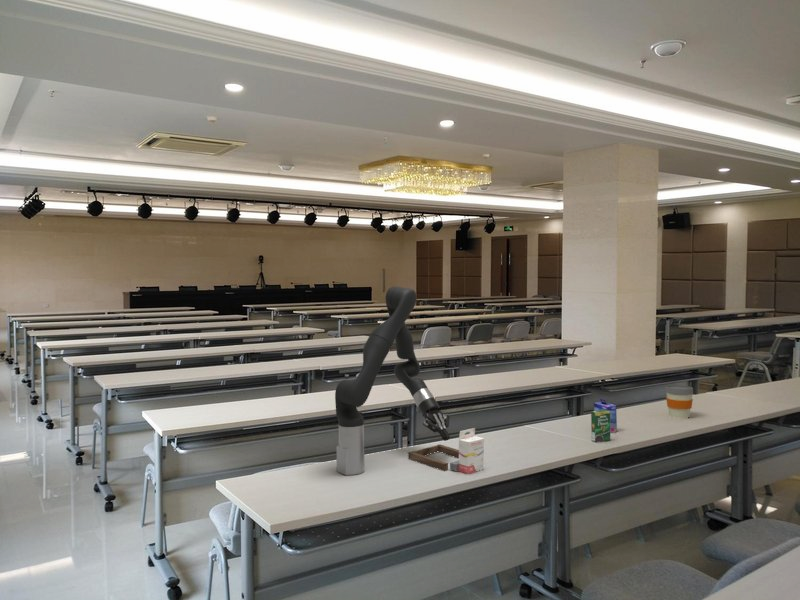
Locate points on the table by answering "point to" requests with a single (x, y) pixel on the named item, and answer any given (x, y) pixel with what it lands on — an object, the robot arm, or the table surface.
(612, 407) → the ink cartridge box
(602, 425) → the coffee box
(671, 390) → the reusable coffee cup
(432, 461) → the brown wooden frame
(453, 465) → the grey block with knob
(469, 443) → the ink cartridge box
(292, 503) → the table surface
